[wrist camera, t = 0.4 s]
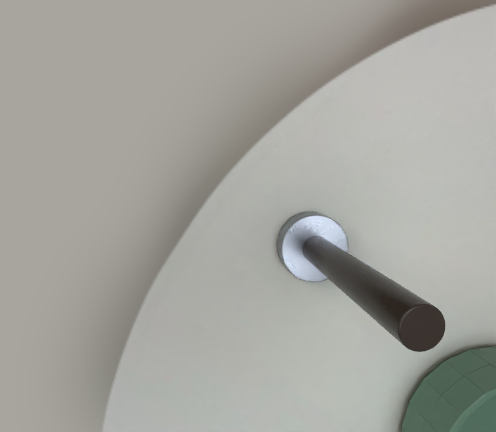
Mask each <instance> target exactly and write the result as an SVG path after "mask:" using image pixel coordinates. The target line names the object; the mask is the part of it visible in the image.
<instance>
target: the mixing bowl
mask: <svg viewBox="0 0 496 432" xmlns="http://www.w3.org/2000/svg"><path fill="white" fill-rule="evenodd" d="M402 432H496V347H486V348H478V349H470V350H467V351H465V352H463V353H461V354H458V355H456V356H454V357H452V358H450V359H447V360H445V361H444V362H443V363H442V364H440V365H439V366H438V367H437V368H436V369H435V370H433V371H432V372H431V373H430V374H429V375H428V376H426V377H425V378H424V379H423V381H422V382H421V384H420V386H419V387H418V389H417V390H416V392H415V393H414V395H413V396H412V398H411V399H410V402H409V404H408V407H407V411H406V414H405V417H404V421H403V424H402Z"/></svg>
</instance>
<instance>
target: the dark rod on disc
mask: <svg viewBox="0 0 496 432" xmlns="http://www.w3.org/2000/svg"><path fill="white" fill-rule="evenodd" d="M277 251H278V255H279V258H280V260H281V261H282V263H283V264H284V266H285V267H286V268H287V269H288V270H289V271H290V272H291V273H292V274H293V275H294V276H295V277H297V278H299V279H301V280H304V281H307V282H319V281H323V280H326V279H329V280H330V281H332V282H333V283H334V284H335V285H336V286H337V287H338V288H339V289H341V290H342V291H343V292H344V293H345V294H346V295H347V296H349V297H350V298H351V299H352V300H353V301H354V302H355V303H356V304H358V305H359V306H360V307H361V308H362V309H363V310H364V311H365V312H367V313H368V314H369V315H370V316H371V317H372V318H373V319H375V320H376V321H377V322H378V323H379V324H380V325H381V326H382V327H384V328H385V329H386V330H387V331H388V332H389V333H390V334H392V335H393V336H394V337H395V338H396V339H397V340H398V341H399V342H401V343H402V344H403V345H404V346H405V347H406V348H408V349H410V350H412V351H418V352H421V351H427V350H429V349H431V348H433V347H435V346H436V345H437V344H438V343H439V342H440V340H441V339H442V337H443V335H444V332H445V320H444V317H443V315H442V313H441V312H440V311H439V309H437V308H436V307H435V306H433V305H431V304H430V303H428V302H427V301H425V300H423V299H422V298H420V297H418V296H417V295H415V294H414V293H412V292H410V291H409V290H407V289H405V288H404V287H402V286H401V285H399V284H397V283H396V282H394V281H393V280H391V279H389V278H388V277H386V276H384V275H383V274H381V273H380V272H378V271H376V270H375V269H373V268H371V267H370V266H368V265H367V264H365V263H363V262H362V261H360V260H358V259H357V258H355V257H354V256H352V255H350V254H349V253H348V241H347V237H346V234H345V232H344V230H343V229H342V227H341V226H340V225H339V224H338V223H337V222H336V221H334V220H333V219H331V218H329V217H327V216H324V215H322V214H320V213H316V212H304V213H300V214H297V215H295V216H293V217H292V218H290V219H289V220H288V221H287V222H286V223H285V224H284V225H283V227H282V228H281V230H280V232H279V235H278V239H277Z"/></svg>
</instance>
